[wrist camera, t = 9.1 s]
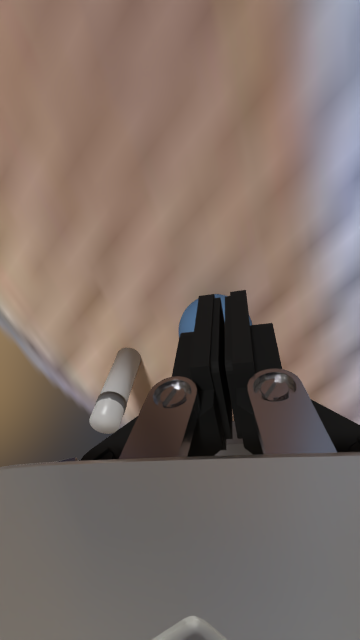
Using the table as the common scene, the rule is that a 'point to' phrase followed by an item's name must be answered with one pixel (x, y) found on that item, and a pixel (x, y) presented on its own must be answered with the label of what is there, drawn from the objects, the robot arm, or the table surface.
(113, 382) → the grey pin
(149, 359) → the table surface
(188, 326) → the ball
